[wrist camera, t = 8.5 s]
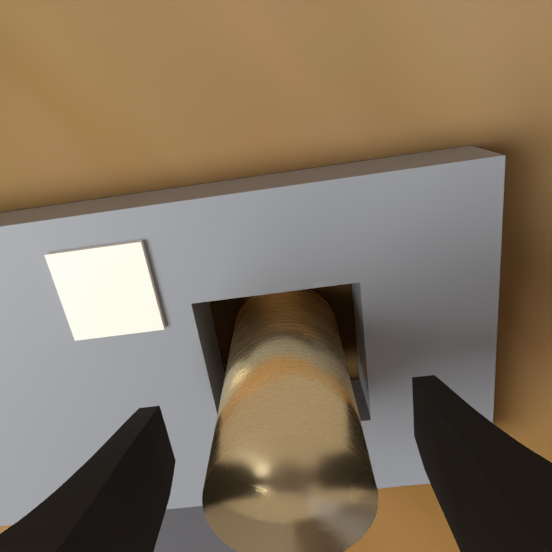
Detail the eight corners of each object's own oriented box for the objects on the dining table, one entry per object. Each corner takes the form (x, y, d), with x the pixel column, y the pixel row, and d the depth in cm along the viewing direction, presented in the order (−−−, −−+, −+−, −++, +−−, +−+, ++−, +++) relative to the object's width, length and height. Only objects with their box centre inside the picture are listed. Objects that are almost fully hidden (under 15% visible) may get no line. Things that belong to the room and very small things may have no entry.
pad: (252, 479, 21) (251, 498, 20) (274, 581, 23) (274, 602, 22) (104, 494, 21) (95, 513, 20) (142, 593, 24) (136, 613, 23)
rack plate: (470, 145, 15) (508, 156, 12) (465, 431, 19) (492, 481, 17) (-98, 226, 16) (-167, 251, 14) (20, 478, 21) (-16, 531, 18)
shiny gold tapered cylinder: (335, 281, 17) (379, 429, 9) (338, 371, 18) (377, 560, 11) (229, 287, 17) (190, 439, 10) (240, 377, 18) (213, 567, 11)
